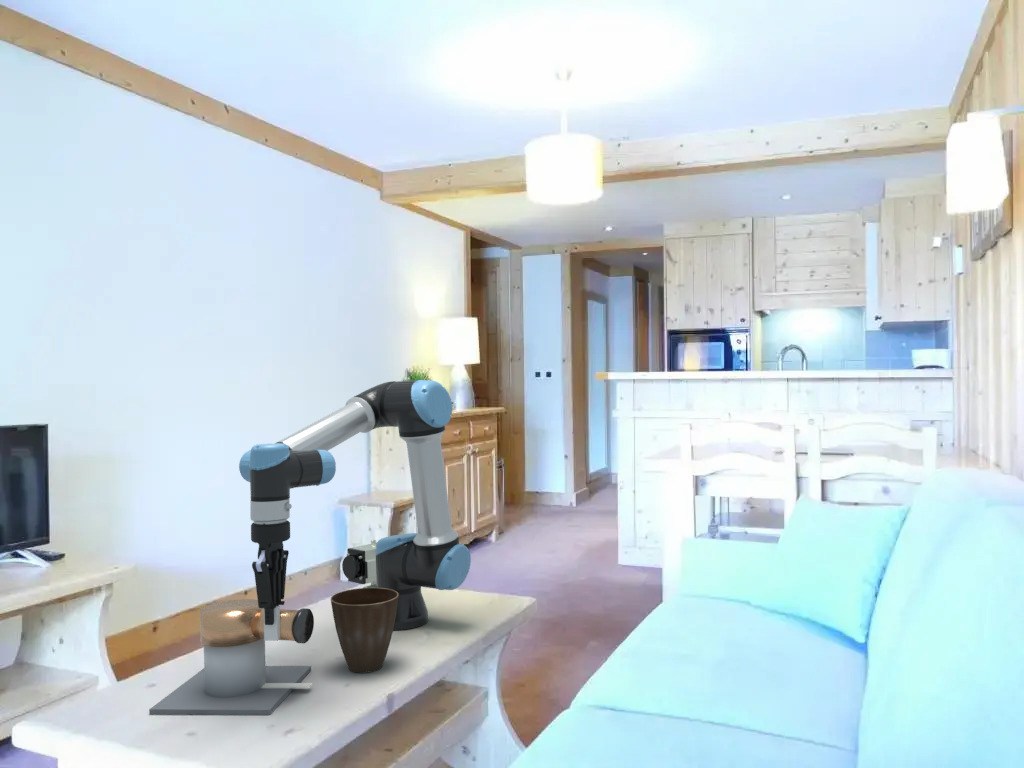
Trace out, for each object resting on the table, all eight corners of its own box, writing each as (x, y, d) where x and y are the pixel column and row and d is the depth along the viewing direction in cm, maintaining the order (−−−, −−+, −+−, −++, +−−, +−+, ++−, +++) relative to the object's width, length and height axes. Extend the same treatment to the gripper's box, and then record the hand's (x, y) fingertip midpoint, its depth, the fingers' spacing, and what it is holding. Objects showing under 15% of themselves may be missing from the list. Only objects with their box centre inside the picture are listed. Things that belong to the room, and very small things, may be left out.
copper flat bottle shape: (186, 646, 158) (185, 613, 158) (225, 627, 171) (225, 596, 171) (289, 653, 153) (288, 618, 153) (321, 632, 165) (320, 600, 165)
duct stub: (328, 670, 174) (327, 620, 174) (290, 715, 150) (288, 657, 150) (206, 670, 176) (205, 621, 176) (149, 714, 152) (148, 657, 152)
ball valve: (360, 609, 222) (358, 547, 222) (342, 604, 228) (340, 543, 228) (408, 596, 236) (407, 537, 236) (390, 592, 241) (389, 534, 242)
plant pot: (397, 653, 184) (396, 585, 184) (402, 675, 169) (400, 601, 170) (332, 659, 181) (331, 590, 181) (332, 682, 166) (330, 607, 166)
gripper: (275, 526, 150) (277, 650, 149) (300, 516, 163) (302, 630, 162) (238, 526, 150) (239, 649, 150) (265, 516, 163) (267, 630, 163)
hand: (272, 639), depth 156 cm, fingers closed
